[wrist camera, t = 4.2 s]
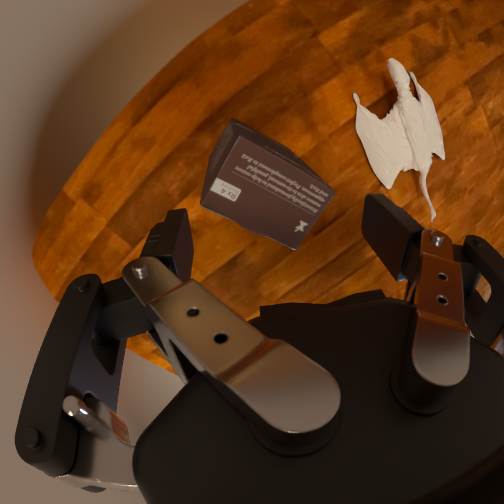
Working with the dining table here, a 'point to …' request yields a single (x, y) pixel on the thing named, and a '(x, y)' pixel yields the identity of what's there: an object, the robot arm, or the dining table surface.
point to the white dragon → (401, 132)
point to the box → (263, 186)
